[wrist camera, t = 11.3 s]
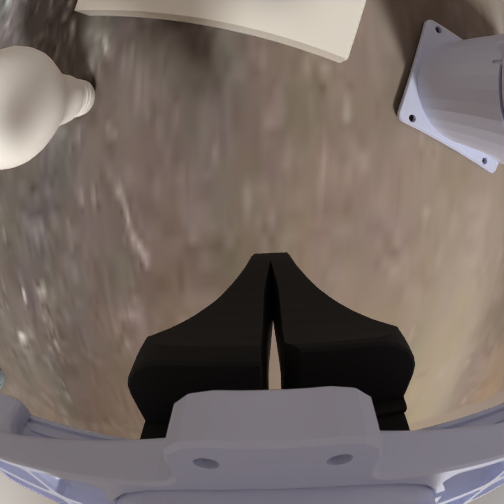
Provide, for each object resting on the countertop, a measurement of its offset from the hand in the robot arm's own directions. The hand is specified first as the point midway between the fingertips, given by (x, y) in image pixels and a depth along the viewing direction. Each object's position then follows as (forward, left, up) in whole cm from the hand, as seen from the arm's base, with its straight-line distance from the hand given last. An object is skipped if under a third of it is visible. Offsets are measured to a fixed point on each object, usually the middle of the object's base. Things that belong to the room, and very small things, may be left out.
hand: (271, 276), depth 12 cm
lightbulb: (+14, -4, -10) cm, 17 cm away
